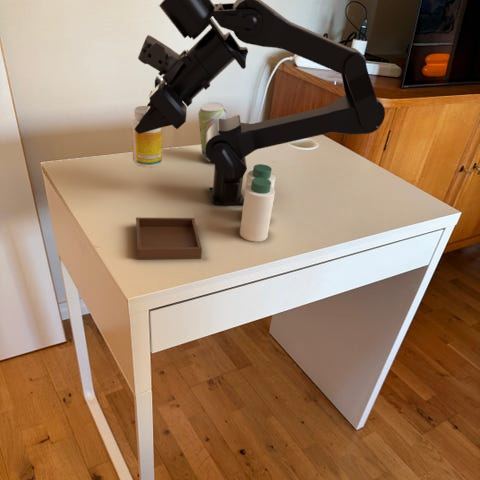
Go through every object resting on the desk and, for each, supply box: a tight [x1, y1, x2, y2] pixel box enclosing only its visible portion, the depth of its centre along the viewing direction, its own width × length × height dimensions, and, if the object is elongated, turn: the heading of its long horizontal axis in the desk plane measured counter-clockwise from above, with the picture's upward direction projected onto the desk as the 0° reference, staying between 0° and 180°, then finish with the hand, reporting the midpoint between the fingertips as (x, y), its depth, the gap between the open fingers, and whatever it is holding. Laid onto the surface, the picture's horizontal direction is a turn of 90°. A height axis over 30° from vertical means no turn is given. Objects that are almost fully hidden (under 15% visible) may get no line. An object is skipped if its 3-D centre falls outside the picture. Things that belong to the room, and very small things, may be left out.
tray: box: [135, 217, 203, 260], centre depth 76 cm, size 10×10×2 cm
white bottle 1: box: [245, 163, 276, 189], centre depth 83 cm, size 5×5×10 cm
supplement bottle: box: [130, 105, 163, 169], centre depth 83 cm, size 5×5×10 cm
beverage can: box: [197, 102, 228, 163], centre depth 101 cm, size 6×7×12 cm
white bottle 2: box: [239, 177, 276, 243], centre depth 78 cm, size 5×5×10 cm
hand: (138, 125), depth 81 cm, fingers closed on supplement bottle, 5 cm apart
